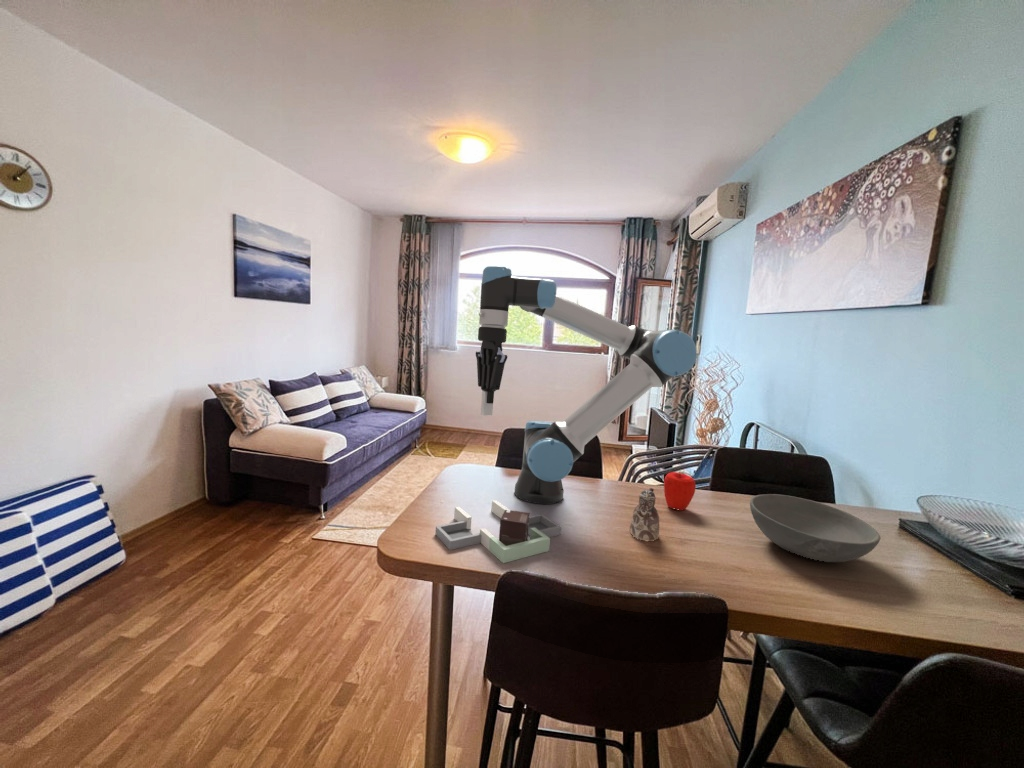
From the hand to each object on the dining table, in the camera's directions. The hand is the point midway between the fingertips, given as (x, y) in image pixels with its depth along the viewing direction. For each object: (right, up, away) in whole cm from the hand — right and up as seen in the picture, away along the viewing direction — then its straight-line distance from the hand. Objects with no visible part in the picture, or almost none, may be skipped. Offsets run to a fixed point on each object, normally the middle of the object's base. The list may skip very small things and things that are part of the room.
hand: (486, 414), depth 113 cm
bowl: (+80, -34, -8) cm, 88 cm away
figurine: (+41, -31, -6) cm, 51 cm away
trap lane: (+4, -28, -11) cm, 31 cm away
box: (+7, -29, -17) cm, 35 cm away
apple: (+57, -30, +15) cm, 66 cm away
